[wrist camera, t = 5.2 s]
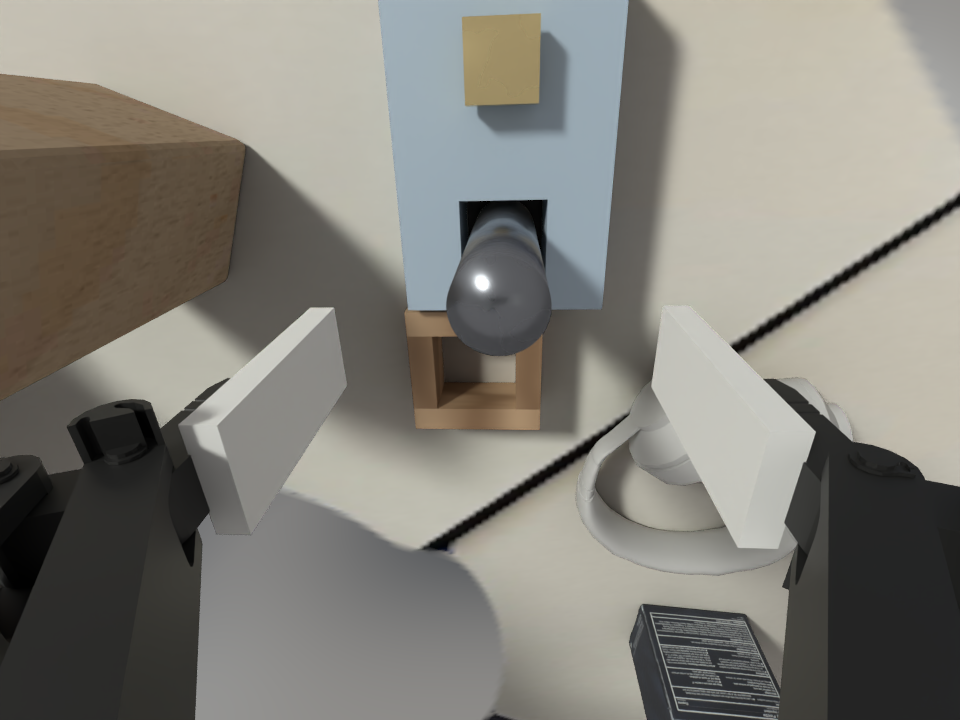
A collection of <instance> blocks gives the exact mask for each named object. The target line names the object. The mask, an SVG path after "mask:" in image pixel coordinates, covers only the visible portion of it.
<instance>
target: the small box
mask: <svg viewBox="0 0 960 720" xmlns="http://www.w3.org/2000/svg"><path fill="white" fill-rule="evenodd" d="M629 645H630V648H631V653H632V657H633V661H634V665H635V670H636V674H637V679H638V683H639V687H640V691H641V696H642V700H643V704H644V709H645V714H646V717H647V720H778V713H779V701H780V687H779V686H778V683H777V681H776V679H775V677H774V675H773V673H772V671H771V669H770V666H769V664H768V662H767V660H766V658H765V656H764V654H763V652H762V650H761V648H760V645H759V643H758V641H757V639H756V637H755V635H754V632H753V631H752V628H751V626H750V624H749V622H748V619H747V616H746V615H745V614H737V613H727V612H717V611H707V610H696V609H686V608H676V607H666V606H656V605H645V604H642V605H641V606H640V609H639V613H638V615H637V619H636V622H635V625H634V627H633V631H632V632H631V636H630V640H629Z"/></svg>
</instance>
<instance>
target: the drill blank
mask: <svg viewBox="0 0 960 720" xmlns="http://www.w3.org/2000/svg"><path fill="white" fill-rule="evenodd" d="M551 310H552V302H551V296H550V291H549V287H548V282H547V278H546V274H545V269H544V265H543V260H542V256H541V252H540V247H539V243H538V239H537V234H536V230H535V225H534V221H533V218H532V215H531V213H530V212H529V210H528V209H527V208H526V207H525V206H524V205H523V204H522V203H520V202H519V201H517V200H497V201H491V202H490V203H488V204H487V205H486V206H485V207H484V208H483V209H482V210H481V211H480V213H479V215H478V217H477V219H476V222H475V224H474V227H473V230H472V232H471V235H470V237H469V240H468V242H467V245H466V247H465V250H464V252H463V255H462V258H461V260H460V263H459V265H458V268H457V270H456V273H455V275H454V278H453V280H452V283H451V286H450V288H449V291H448V295H447V300H446V311H447V317H448V320H449V323H450V325H451V328H452V329H453V331H454V333H455V334H456V335H457V337H458V338H459V339H460V340H461V341H462V342H463V343H464V344H466V345H467V346H468V347H470V348H472V349H473V350H475V351H478V352H480V353H483V354H487V355H492V356H506V355H512V354H515V353H518V352H521V351H523V350H525V349H527V348H528V347H530V346H531V345H533V344H534V343H535V342H536V341H537V340H538V339H539V338H540V337H541V335H542V334H543V333H544V331H545V329H546V328H547V325H548V323H549V320H550V316H551Z"/></svg>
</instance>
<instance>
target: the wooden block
mask: <svg viewBox="0 0 960 720" xmlns="http://www.w3.org/2000/svg"><path fill="white" fill-rule="evenodd" d="M244 157H245V145H244V144H243V143H241V142H240V141H239V140H237V139H235V138H232V137H230V136H227V135H224V134H222V133H219V132H217V131H214V130H212V129H209V128H207V127H204V126H201V125H199V124H196V123H194V122H191V121H189V120H186V119H184V118H181V117H178V116H176V115H173V114H171V113H168V112H166V111H163V110H161V109H158V108H155V107H153V106H150V105H148V104H145V103H143V102H140V101H138V100H135V99H132V98H130V97H127V96H125V95H122V94H120V93H117V92H115V91H112V90H109V89H107V88H104V87H102V86H99V85H97V84H91V83H81V82H72V81H63V80H53V79H44V78H34V77H25V76H16V75H6V74H0V401H1V400H3V399H5V398H7V397H8V396H10V395H12V394H14V393H16V392H18V391H20V390H22V389H23V388H25V387H27V386H29V385H31V384H33V383H35V382H37V381H38V380H40V379H42V378H44V377H46V376H48V375H50V374H52V373H54V372H55V371H57V370H59V369H61V368H63V367H65V366H67V365H69V364H70V363H72V362H74V361H76V360H78V359H80V358H82V357H84V356H85V355H87V354H89V353H91V352H93V351H95V350H97V349H99V348H100V347H102V346H104V345H106V344H108V343H110V342H112V341H114V340H116V339H117V338H119V337H121V336H123V335H125V334H127V333H129V332H131V331H132V330H134V329H136V328H138V327H140V326H142V325H144V324H146V323H147V322H149V321H151V320H153V319H155V318H157V317H159V316H161V315H162V314H164V313H166V312H168V311H170V310H172V309H174V308H176V307H178V306H179V305H181V304H183V303H185V302H187V301H189V300H191V299H193V298H194V297H196V296H198V295H200V294H202V293H204V292H206V291H208V290H209V289H211V288H213V287H215V286H217V285H219V284H221V283H223V282H224V281H225V280H226V279H227V277H228V271H229V264H230V256H231V249H232V242H233V235H234V228H235V221H236V214H237V207H238V199H239V192H240V185H241V178H242V171H243V164H244Z"/></svg>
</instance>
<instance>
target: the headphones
mask: <svg viewBox="0 0 960 720" xmlns="http://www.w3.org/2000/svg"><path fill="white" fill-rule="evenodd" d="M776 380H778V381H780V382H782V383H784V384H786V385H788V386H790V387H792V388H794V389H796V390H797V391H798V392H799V393H800V394H801V395H802V396H803V397H804V398H805V399H807V400H808V401H809V404H812V405H813V406H814V407H815V408H816V409H817V410H818V411H820V414H823V415H824V416H825V417H826V418H827V419H828V420H829V421H830V422H831V423H833V424H834V425H835V426H836V427H837V428H838V429H839V430H840V431H841V432H842V433H843V434H845V435H846V436H847V437H848V438H849V439H850V440H851V441H852V442H853V436H852V431H851V426H850V423H849V421H848V418H847V416H846V414H845V412H844V411H843V409H842V408H841V407H840V406H839V405H837V404H835V403H826V402H825V400H824V399H823V398H822V396H821V395H820V393H819V392H818V391H817V389H816V388H815V386H813V385H812V384H811V383H810V382H809V381H808V380H807V379H805V378H798V377H796V378H784V379H776ZM651 385H652V380H651V381H650V382H649V383H648V384H647V385H646V386H645V387H644V388H643V389H642V390H641V391H640V393H639V394H638V395H637V397H636V399H635V401H634V403H633V405H632V408H631V412H630V415H629V416H628V417H627V418H625V419H624V420H623V421H622V422H621V423H620V424H618V425H617V426H616V427H615V428H614V429H613V430H611V431H610V432H609V433H608V434H606V435H605V436H604V437H602V438H601V439H600V440H599V441H598V442H597V443H596V444H595V446H594V447H593V448H592V449H591V451H590V453H589V455H588V456H587V458H586V461H585V464H584V467H583V469H582V471H581V472H580V474H579V476H578V482H577V488H576V504H577V508H578V511H579V514H580V517H581V519H582V522H583V524H584V525H585V527H586V528H587V529H588V531H589V532H590V534H591V535H592V536H593V537H594V538H595V539H596V540H597V541H598V542H599V543H601V544H602V545H603V546H604V547H605V548H606V549H607V550H609V551H610V552H611V553H612V554H614V555H616V556H618V557H621V558H624V559H627V560H629V561H631V562H633V563H635V564H638V565H641V566H644V567H647V568H651V569H655V570H659V571H664V572H670V573H678V574H689V575H694V574H703V575H717V576H719V575H724V574H729V573H734V572H739V571H747V570H753V569H757V568H760V567H764V566H767V565H770V564H772V563H774V562H776V561H778V560H780V559H782V558H784V557H785V556H787V555H788V554H789V553H790V552H791V551H792V550H794V549H795V548H796V546H797V543H798V542H797V541H796V539H795V538H794V536H793V535H792V533H791V532H790V531H789V529H788V528H787V526H785V529H784V532H783V535H782V538H781V541H780V544H779V547H778V549H762V548H738V547H737V545H736V543H735V542H734V540H733V538H732V536H731V534H730V532H729V530H728V529H727V527H726V526H725V527H722V528H715V529H707V530H699V531H692V532H689V531H665V530H659V529H653V528H649V527H645V526H643V525H640V524H637V523H635V522H632V521H630V520H627V519H625V518H624V517H622V516H621V515H619V514H618V513H616V512H615V511H613V510H612V509H611V508H609V507H608V506H607V505H606V504H605V503H604V501H603V500H602V498H601V497H600V496H599V494H598V493H597V491H596V488H595V482H596V479H597V475H598V471H599V469H600V467H601V464H602V462H603V461H604V459H605V458H606V457H607V456H608V455H609V454H611V453H612V452H613V451H615V450H616V449H617V448H618V447H619V446H621V445H622V444H623V443H624V442H626V441H627V440H628V439H629V450H630V452H631V454H632V457H633V459H634V461H635V463H636V465H637V466H639V467H640V468H642V469H643V470H645V471H647V472H648V473H650V474H652V475H653V476H655V477H656V478H658V479H660V480H661V481H663V482H665V483H666V484H674V485H689V484H693V483H697V482H701V481H702V480H701V478H700V477H699V475H698V473H697V471H696V469H695V467H694V465H693V464H692V462H691V460H690V458H689V456H688V454H687V452H686V451H685V449H684V447H683V445H682V443H681V441H680V439H679V437H678V436H677V434H676V432H675V430H674V428H673V426H672V424H671V423H670V421H669V419H668V417H667V415H666V413H665V411H664V410H663V408H662V406H661V404H660V402H659V400H658V398H657V397H656V395H655V393H654V391H653V389H652V387H651Z"/></svg>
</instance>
